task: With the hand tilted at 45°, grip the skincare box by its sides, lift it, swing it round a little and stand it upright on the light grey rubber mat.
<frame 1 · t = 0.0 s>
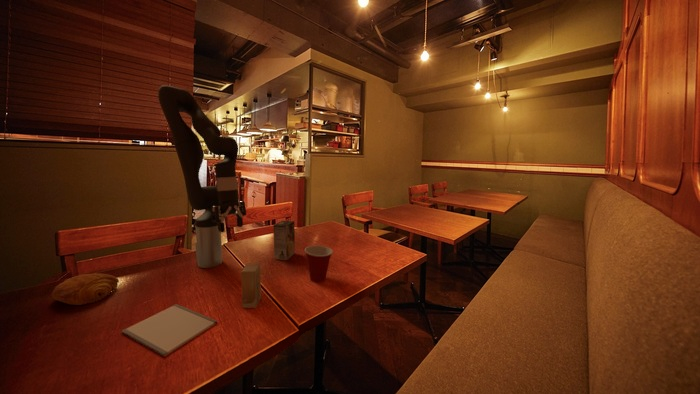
hand: (231, 229, 104), 17 cm above the table, tool pointing down, fingers open, 8 cm apart
coffee box: (284, 256, 122), on the table
mat: (171, 327, 71), on the table
skincare box: (252, 303, 84), on the table
plastic cup: (318, 279, 101), on the table
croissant: (89, 296, 85), on the table
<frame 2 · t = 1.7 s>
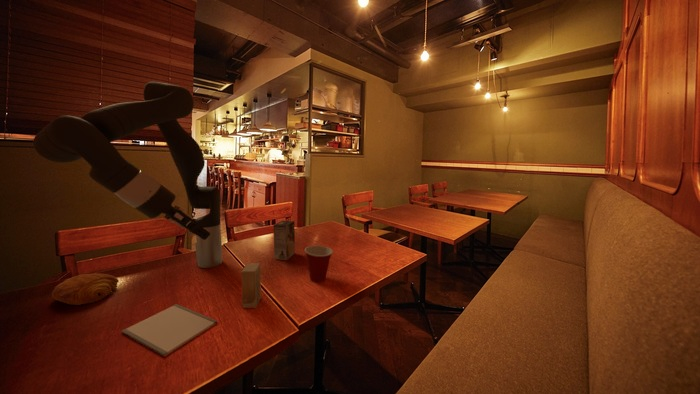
hand: (202, 233, 71), 25 cm above the table, tool tilted 45°, fingers open, 8 cm apart
nothing on the table moved.
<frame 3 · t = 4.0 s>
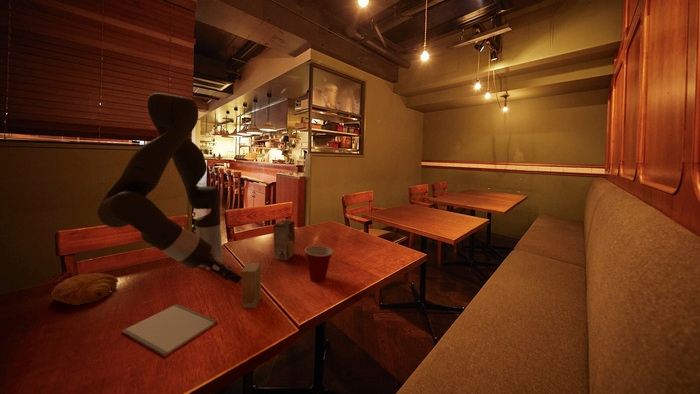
hand: (233, 275, 78), 11 cm above the table, tool tilted 45°, fingers open, 8 cm apart
nothing on the table moved.
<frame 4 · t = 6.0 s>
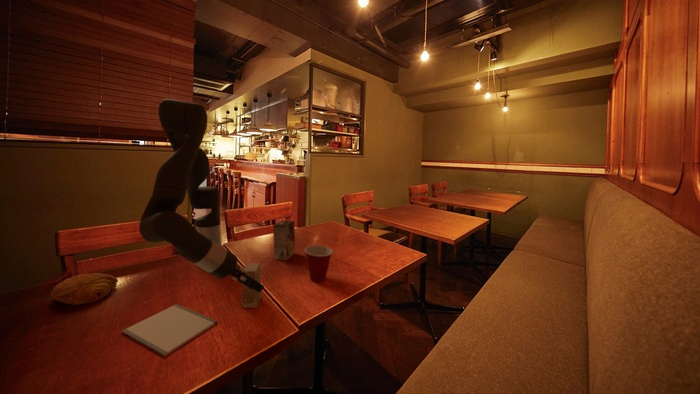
hand: (256, 284, 84), 6 cm above the table, tool tilted 45°, fingers closed on skincare box, 7 cm apart
skincare box: (252, 303, 84), on the table, touching gripper
everything else where it was.
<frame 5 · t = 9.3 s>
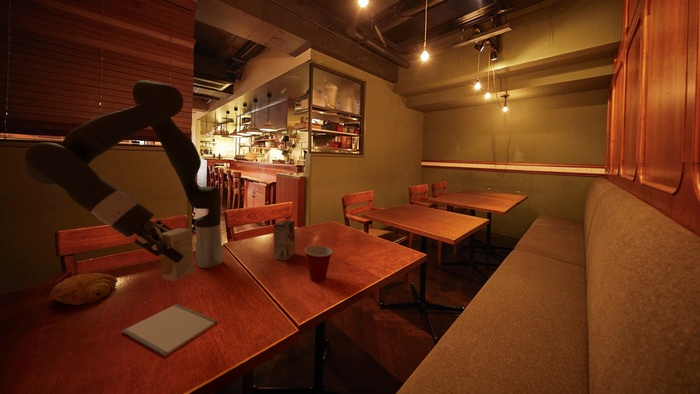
hand: (183, 254, 69), 20 cm above the table, tool tilted 45°, fingers closed on skincare box, 7 cm apart
skincare box: (178, 276, 69), point 14 cm above the table, touching gripper
everything else where it was.
when the fingers open (7 cm above the table, at t = 12.9 s): skincare box stays where it is, resting on mat.
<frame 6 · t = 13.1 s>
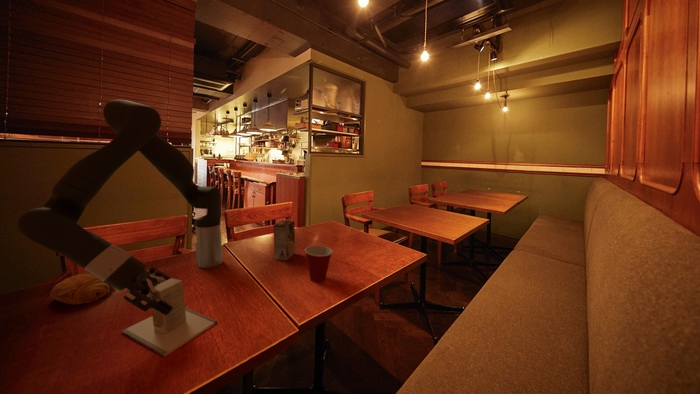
hand: (174, 302, 70), 7 cm above the table, tool tilted 45°, fingers open, 8 cm apart
skincare box: (170, 326, 70), resting on mat
everything else where it was.
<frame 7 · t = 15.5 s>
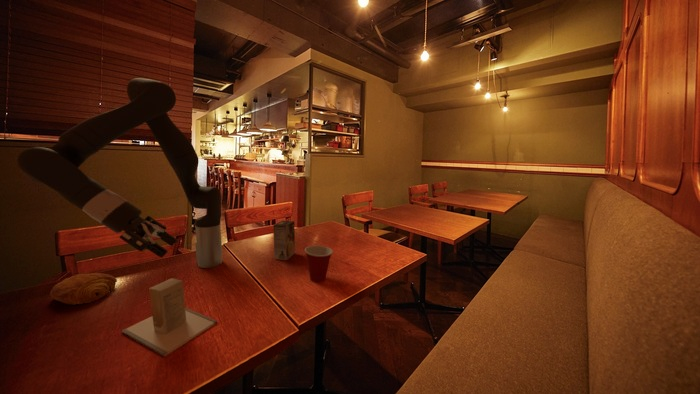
hand: (170, 248, 73), 20 cm above the table, tool tilted 45°, fingers open, 8 cm apart
nothing on the table moved.
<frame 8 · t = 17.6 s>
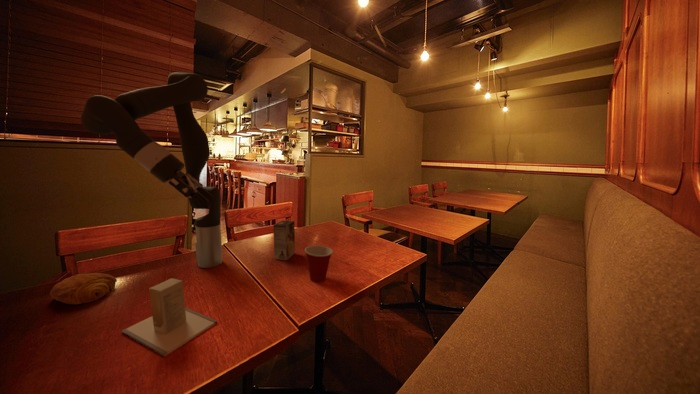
hand: (208, 201, 78), 33 cm above the table, tool tilted 45°, fingers open, 8 cm apart
nothing on the table moved.
at the end: skincare box inside the target area on the mat (0.2 cm from its centre), point 0.4 cm above the mat's base; skincare box tilted 0°; the gripper is holding nothing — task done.
